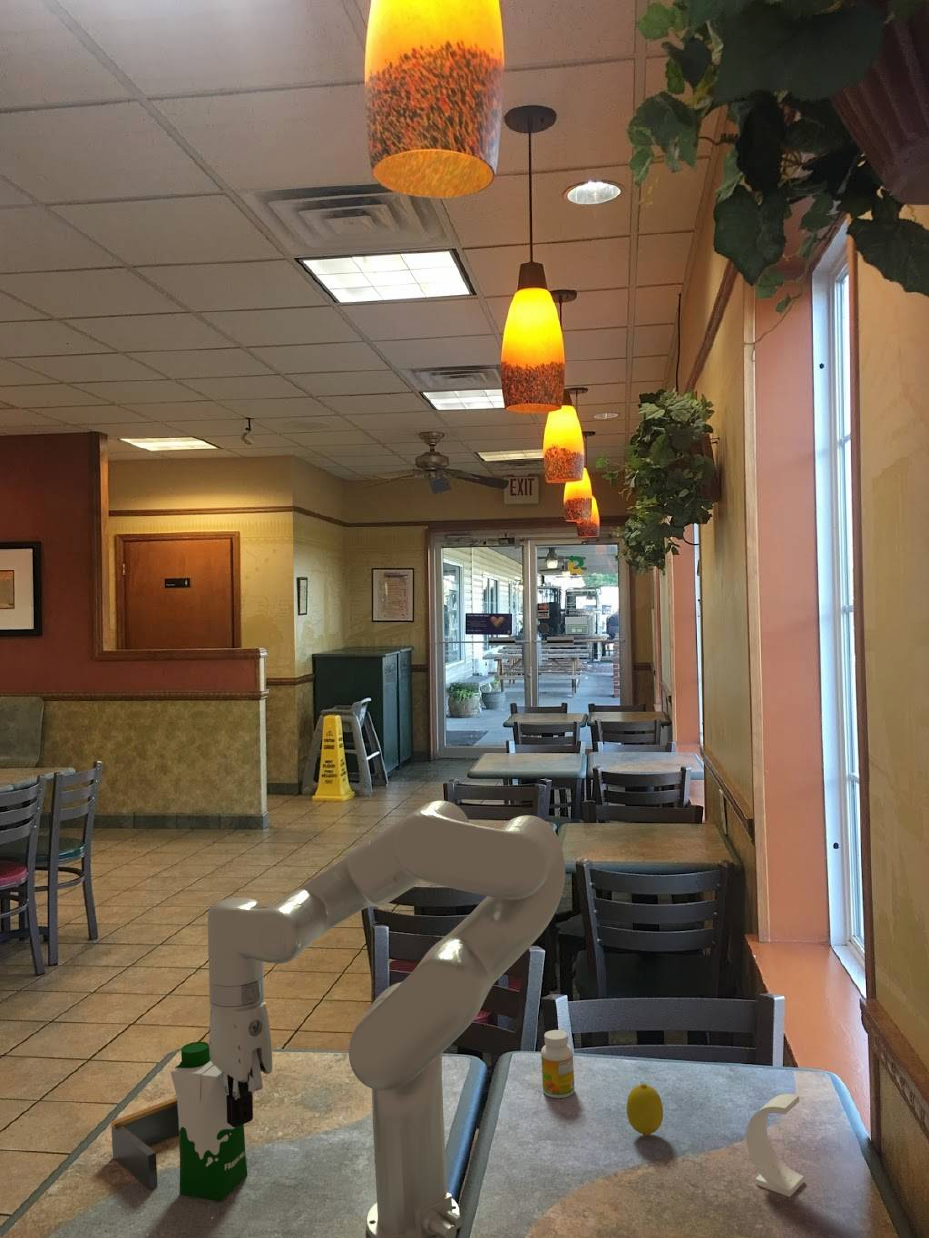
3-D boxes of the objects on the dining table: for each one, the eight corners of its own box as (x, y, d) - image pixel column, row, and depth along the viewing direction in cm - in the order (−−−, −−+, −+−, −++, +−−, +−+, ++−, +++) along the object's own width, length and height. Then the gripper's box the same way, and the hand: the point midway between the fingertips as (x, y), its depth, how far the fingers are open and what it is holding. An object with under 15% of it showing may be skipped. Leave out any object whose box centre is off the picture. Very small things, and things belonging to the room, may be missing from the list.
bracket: (237, 1151, 154) (236, 1115, 154) (149, 1190, 144) (147, 1151, 145) (197, 1123, 164) (196, 1089, 164) (112, 1157, 154) (111, 1121, 154)
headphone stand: (789, 1197, 134) (784, 1108, 135) (748, 1182, 139) (743, 1096, 139) (804, 1181, 138) (799, 1095, 138) (763, 1167, 142) (758, 1083, 142)
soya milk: (205, 1165, 150) (198, 1033, 151) (257, 1173, 148) (250, 1038, 148) (170, 1197, 142) (163, 1058, 142) (224, 1206, 139) (217, 1063, 140)
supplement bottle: (537, 1089, 170) (534, 1032, 170) (564, 1081, 172) (561, 1025, 172) (553, 1101, 165) (550, 1043, 165) (580, 1094, 167) (577, 1036, 167)
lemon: (623, 1141, 151) (620, 1088, 151) (634, 1124, 156) (631, 1073, 156) (658, 1148, 149) (655, 1094, 149) (668, 1130, 154) (666, 1079, 154)
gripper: (289, 996, 135) (292, 1131, 135) (234, 970, 146) (237, 1095, 146) (240, 1012, 130) (243, 1152, 130) (187, 983, 141) (190, 1112, 141)
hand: (240, 1121), depth 138 cm, fingers closed
